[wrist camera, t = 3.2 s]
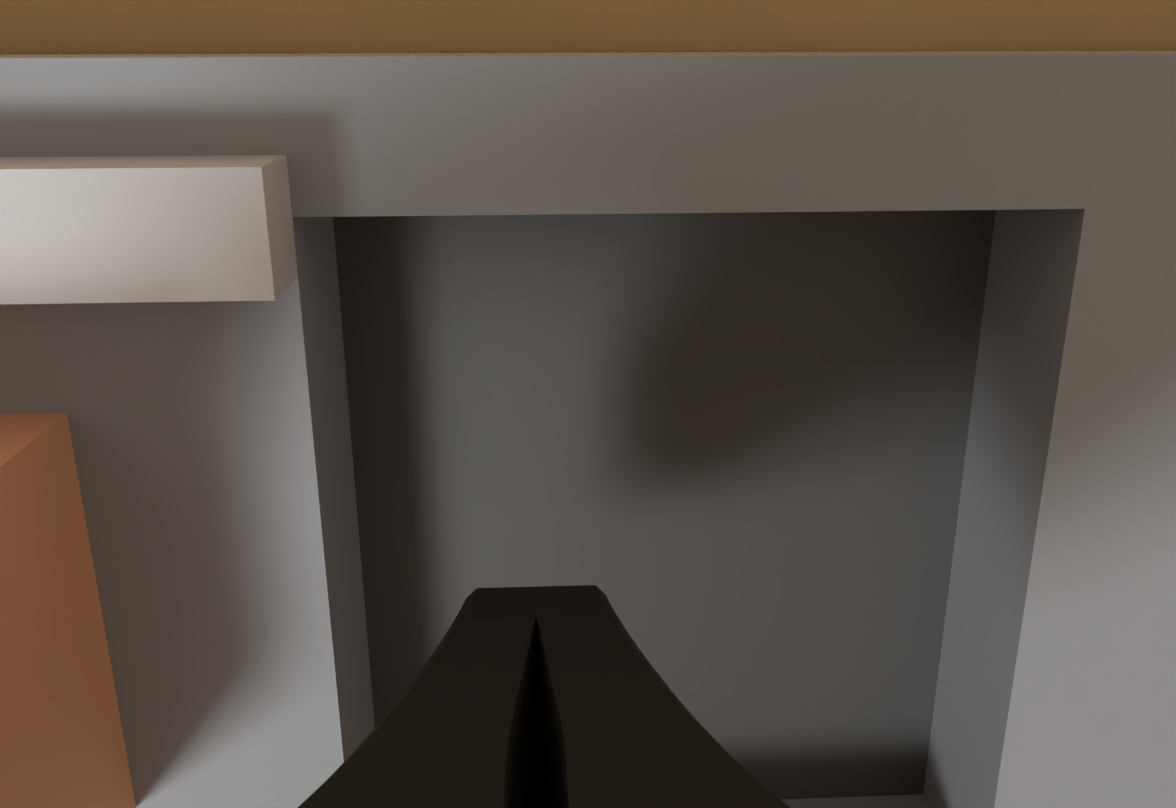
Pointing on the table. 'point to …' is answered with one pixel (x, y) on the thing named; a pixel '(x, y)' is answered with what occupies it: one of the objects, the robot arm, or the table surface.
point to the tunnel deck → (619, 396)
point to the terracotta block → (52, 633)
